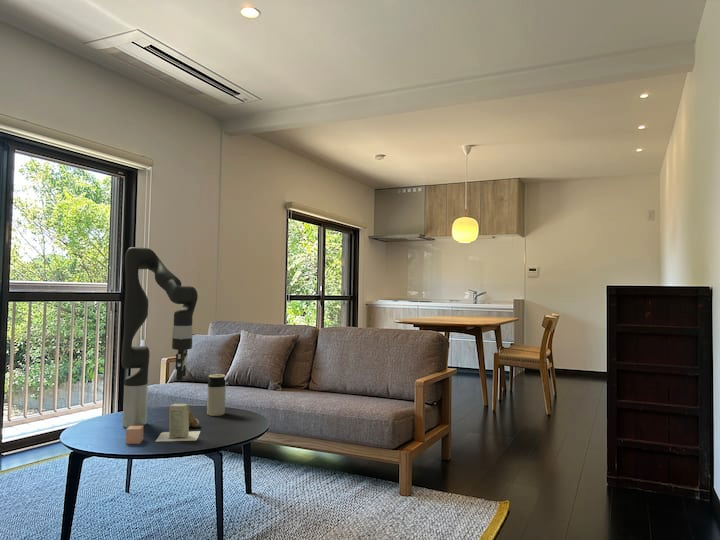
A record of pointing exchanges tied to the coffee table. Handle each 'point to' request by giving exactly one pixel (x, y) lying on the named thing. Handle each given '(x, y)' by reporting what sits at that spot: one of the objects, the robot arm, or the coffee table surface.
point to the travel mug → (216, 395)
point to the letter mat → (165, 437)
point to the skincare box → (179, 420)
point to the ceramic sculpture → (193, 420)
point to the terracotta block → (134, 434)
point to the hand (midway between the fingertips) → (181, 378)
